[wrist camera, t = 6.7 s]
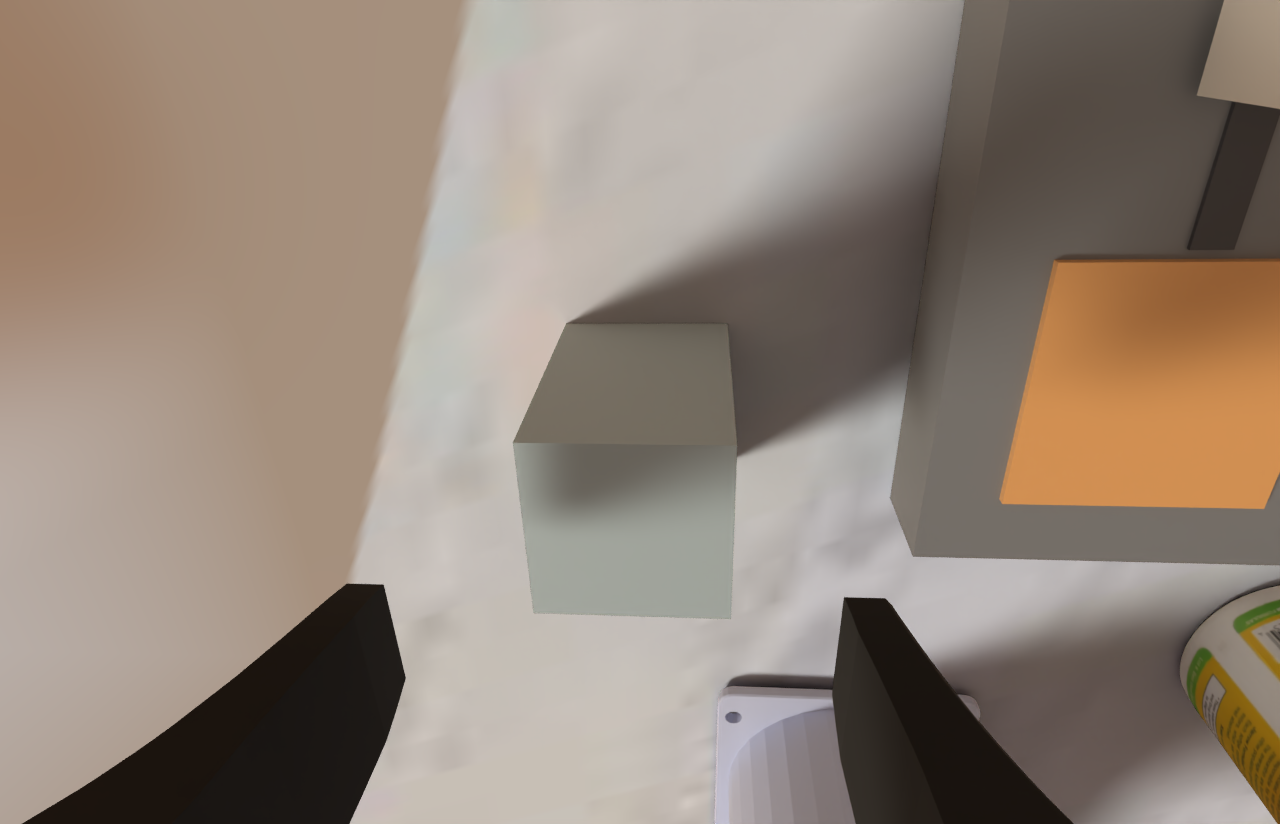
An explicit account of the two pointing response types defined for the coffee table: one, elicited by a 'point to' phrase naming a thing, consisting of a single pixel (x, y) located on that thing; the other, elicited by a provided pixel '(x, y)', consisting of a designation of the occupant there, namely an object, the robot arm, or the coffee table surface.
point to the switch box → (1096, 298)
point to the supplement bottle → (1241, 686)
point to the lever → (1245, 54)
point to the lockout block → (631, 473)
